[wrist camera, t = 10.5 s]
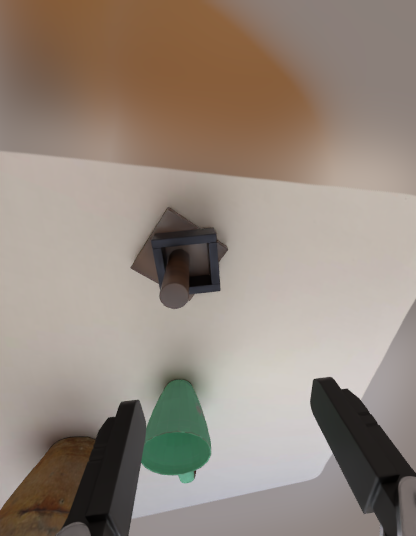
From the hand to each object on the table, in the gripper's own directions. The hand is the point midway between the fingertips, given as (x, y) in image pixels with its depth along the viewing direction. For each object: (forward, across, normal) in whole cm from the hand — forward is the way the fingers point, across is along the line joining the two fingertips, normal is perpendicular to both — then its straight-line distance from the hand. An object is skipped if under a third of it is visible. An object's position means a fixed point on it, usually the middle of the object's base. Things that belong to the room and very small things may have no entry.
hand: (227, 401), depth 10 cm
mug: (+21, +6, +27) cm, 35 cm away
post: (+21, +3, 0) cm, 22 cm away
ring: (+20, +2, 0) cm, 20 cm away
